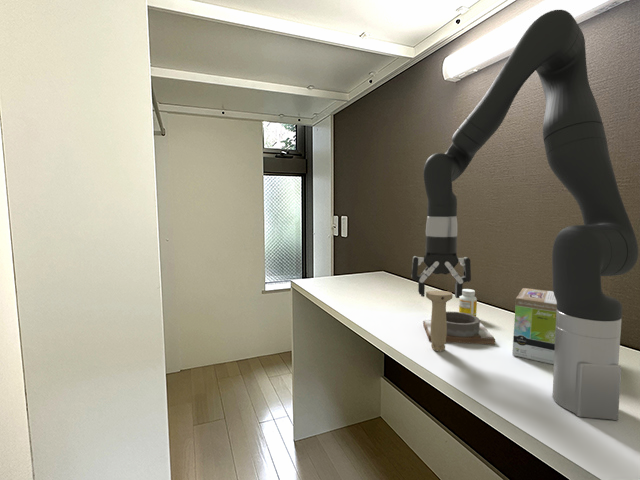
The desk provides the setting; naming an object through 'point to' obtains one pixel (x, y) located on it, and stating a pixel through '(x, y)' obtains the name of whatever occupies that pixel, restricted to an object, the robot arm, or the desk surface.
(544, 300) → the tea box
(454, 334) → the ring socket base
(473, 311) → the supplement bottle
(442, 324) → the handle
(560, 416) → the desk surface
